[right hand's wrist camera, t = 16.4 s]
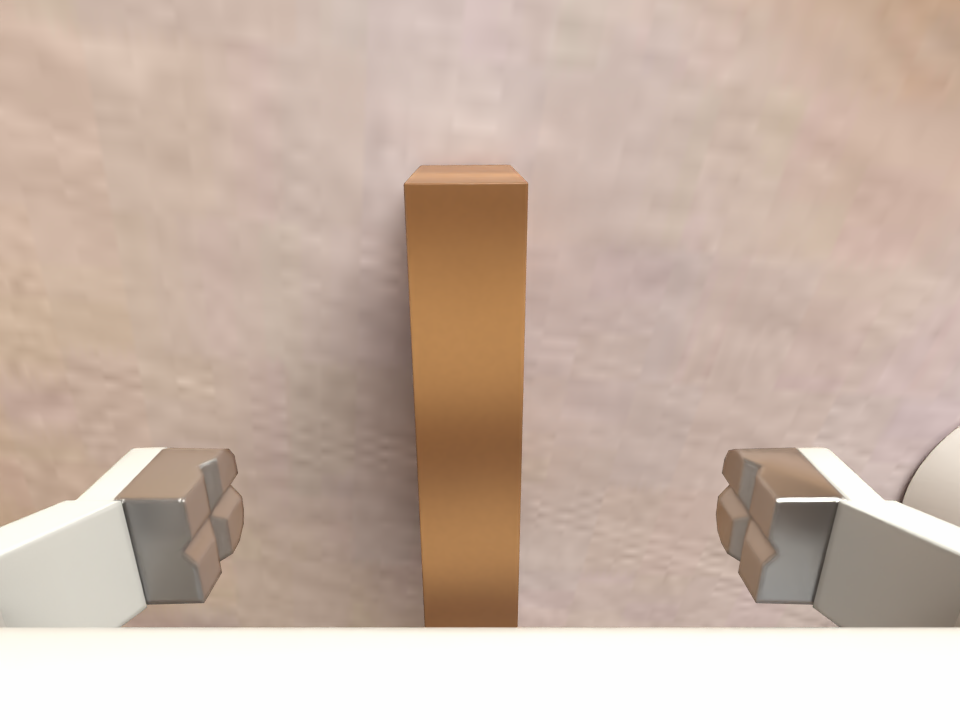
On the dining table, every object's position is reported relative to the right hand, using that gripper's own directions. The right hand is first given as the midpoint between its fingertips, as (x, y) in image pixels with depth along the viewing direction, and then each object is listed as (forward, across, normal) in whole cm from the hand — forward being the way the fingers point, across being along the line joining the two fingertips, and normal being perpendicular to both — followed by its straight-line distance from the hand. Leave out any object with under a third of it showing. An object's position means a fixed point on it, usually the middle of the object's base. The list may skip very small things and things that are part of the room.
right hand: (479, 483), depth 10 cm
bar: (+23, +1, +7) cm, 24 cm away
